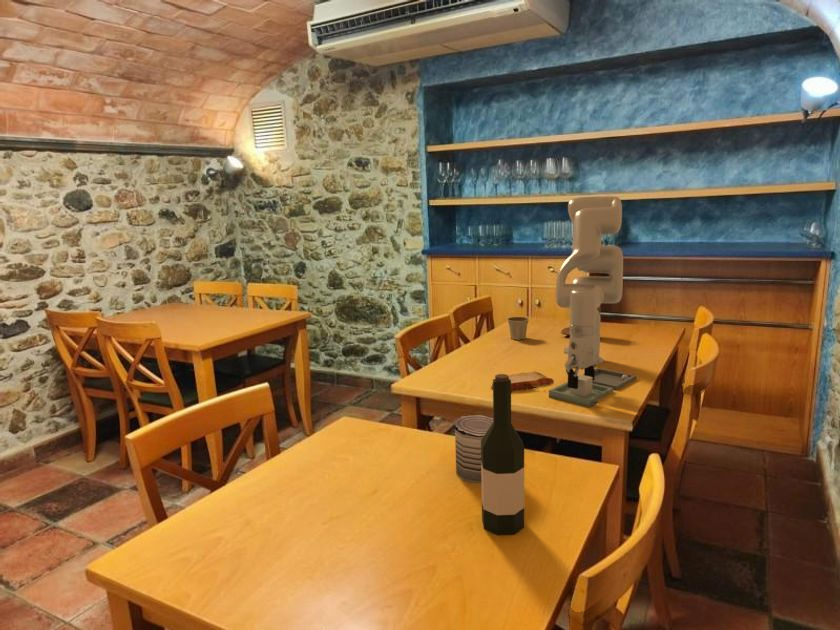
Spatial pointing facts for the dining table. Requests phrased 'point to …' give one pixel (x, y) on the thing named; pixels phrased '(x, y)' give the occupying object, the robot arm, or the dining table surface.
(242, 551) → the dining table surface
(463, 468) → the can
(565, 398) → the bin
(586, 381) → the beige block
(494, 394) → the wine bottle
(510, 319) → the flower pot
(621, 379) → the bin
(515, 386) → the bread slice
